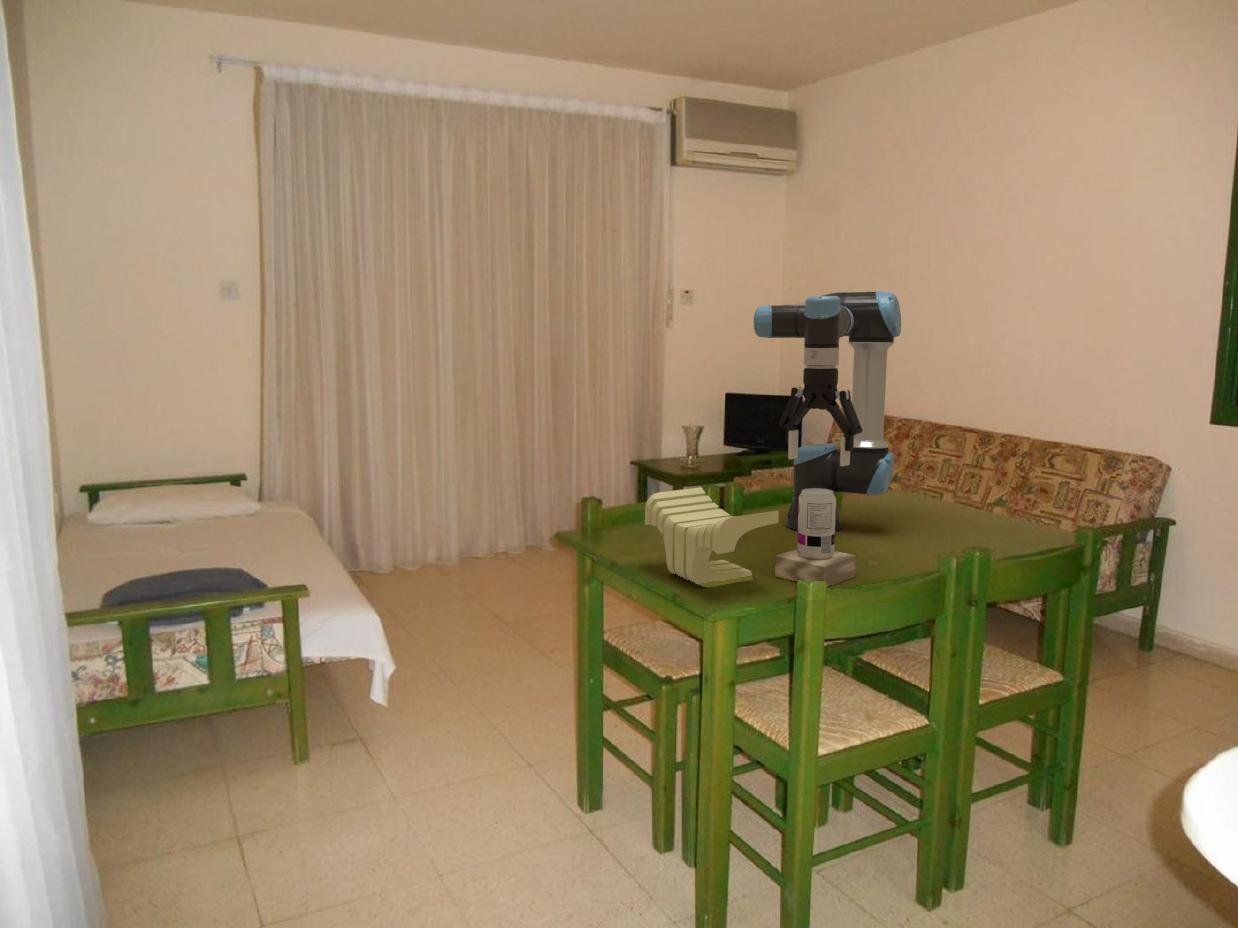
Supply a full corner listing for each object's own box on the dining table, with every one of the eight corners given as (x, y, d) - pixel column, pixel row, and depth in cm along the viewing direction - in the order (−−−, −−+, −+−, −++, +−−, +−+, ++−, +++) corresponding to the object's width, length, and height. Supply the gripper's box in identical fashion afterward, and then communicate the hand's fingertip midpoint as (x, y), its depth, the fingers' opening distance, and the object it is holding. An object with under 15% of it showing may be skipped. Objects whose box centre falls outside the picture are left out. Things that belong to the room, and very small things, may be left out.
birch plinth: (774, 577, 211) (775, 555, 210) (807, 565, 220) (807, 545, 219) (823, 588, 202) (824, 566, 201) (855, 576, 211) (855, 555, 210)
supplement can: (790, 555, 210) (791, 491, 207) (810, 548, 216) (812, 486, 213) (820, 562, 204) (822, 496, 202) (840, 555, 210) (843, 490, 207)
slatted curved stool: (645, 566, 220) (645, 494, 217) (700, 557, 227) (701, 487, 224) (716, 601, 194) (717, 518, 191) (777, 589, 201) (778, 510, 198)
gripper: (764, 365, 209) (762, 457, 212) (862, 370, 191) (858, 470, 195) (783, 364, 214) (782, 453, 218) (880, 368, 197) (876, 466, 200)
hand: (818, 462), depth 206 cm, fingers open, 13 cm apart
